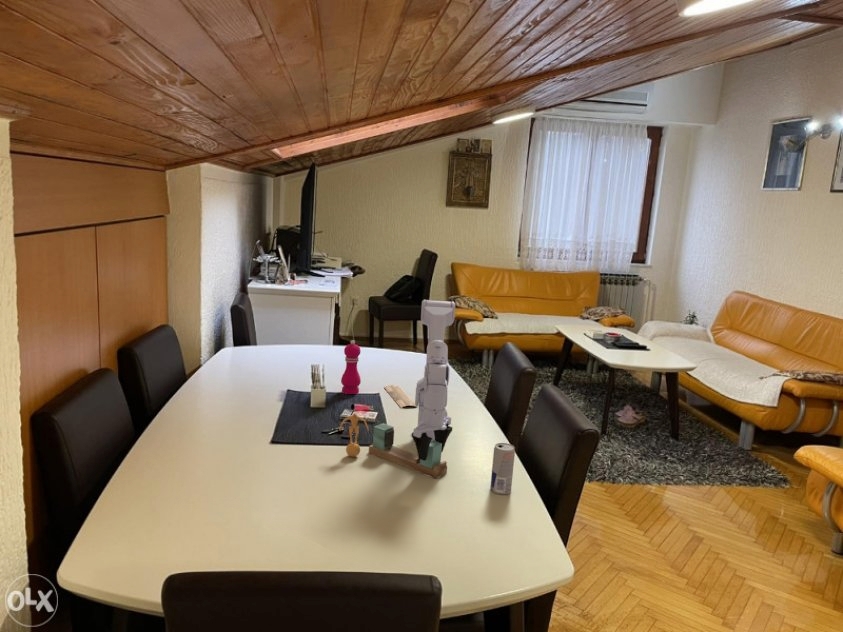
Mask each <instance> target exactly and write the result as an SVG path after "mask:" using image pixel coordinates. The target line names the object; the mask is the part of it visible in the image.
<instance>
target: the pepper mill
mask: <svg viewBox="0 0 843 632" xmlns="http://www.w3.org/2000/svg"><path fill="white" fill-rule="evenodd" d="M343 349H344V350H343V353H344V355H345V357H344V358H345V359H344V361H345V363H346V365H345V370H344V372H343V373H342V376H341V379H340V380H341V381H340V382H341V384H342V387H341V393H342V392H343V393H342V394H344V393H346V394H345V395H347V394H355V395H358V394H359V393H360V388H359V386H360V384H361V381H362V380H361V376H360V374H359V371H358V362H359V361H360V360H359V359H360V358H359V356H360V355H361V348H360V346H359V345H358V344H356V340H354V339H351V340H350V344H347V345H346V346H345V347H344V348H343ZM357 393H358V394H357Z"/></svg>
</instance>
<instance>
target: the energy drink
mask: <svg viewBox="0 0 843 632" xmlns="http://www.w3.org/2000/svg"><path fill="white" fill-rule="evenodd" d="M515 450H516V449H515V446H514V445H513V444H510V443H507V442H506V443H505V442H499V443H498V442H497V443H496V444H495V445H494V447H493V454H492V455H493V456H492V466H491V477H490V491H491V492H493V493H494V494H497V495H502V496H503V495H508V494H510V493H511V492H512V485H513V475H514V466H515V465H514V463H515V456H516V451H515Z"/></svg>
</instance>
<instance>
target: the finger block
mask: <svg viewBox="0 0 843 632" xmlns="http://www.w3.org/2000/svg"><path fill="white" fill-rule="evenodd" d="M441 450H442V443H439V442H436V441H435V440H431V442H430V445H429V448H428V454H427V458H426V460H425V461H424V460H421V459H419V460H420V465H423V466H426V467H428V468H431V469H432V468H433V466H435V465H437V464H439V463H441V462H442V460H441V459H442V453H441Z"/></svg>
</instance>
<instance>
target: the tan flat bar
mask: <svg viewBox="0 0 843 632" xmlns="http://www.w3.org/2000/svg"><path fill="white" fill-rule="evenodd" d="M383 388H384V390H385V389H386V390H385V391H386V393H387V394H389V396H390V397H391V398H392V399H393V401H394V402H395V403H396V405H398V407H399V408H400V409H403V407H406V406H411V407H415V408H418V406H416V405H415V402H413V400H412V399H411V398H410V397H409V396H408V395H407V394H406V392H405V391H404V390H403V389H402V388H401V387H400V386H399V385H395V384H394V385H393V384H390V385H389V384H388V385H385V386H384V387H383Z"/></svg>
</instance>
